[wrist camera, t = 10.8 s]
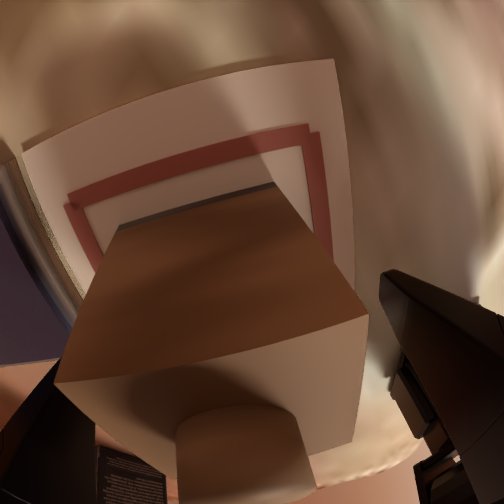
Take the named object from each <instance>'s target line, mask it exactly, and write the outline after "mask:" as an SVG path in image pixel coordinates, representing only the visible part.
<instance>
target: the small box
mask: <svg viewBox="0 0 504 504" xmlns="http://www.w3.org/2000/svg"><path fill="white" fill-rule="evenodd" d="M95 469H96V490H97V504H167V487H166V475H165V474H163V473H161V472H160V471H158V470H157V469H155V468H154V467H152V466H151V465H149V464H148V463H146V462H145V461H143V460H142V459H139V458H136V457H133V456H129V455H126V454H123V453H120V452H116V451H114V450H111V449H108V448H105V447H102V446H97V447H95Z"/></svg>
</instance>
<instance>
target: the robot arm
mask: <svg viewBox="0 0 504 504" xmlns="http://www.w3.org/2000/svg"><path fill="white" fill-rule="evenodd" d="M379 299H380V303H381V305H382V307H383V309H384V311H385V313H386V315H387V317H388V320H389V322H390V324H391V326H392V328H393V331H394V333H395V335H396V337H397V339H398V341H399V343H400V345H401V347H402V352H401V356H400V360H399V364H398V368H397V372H396V375H395V379H394V383H393V386H392V389H391V393H390V396H391V397H392V399H393V400H395V401H396V403H397V404H398V406H399V408H400V410H401V412H402V414H403V416H404V418H405V420H406V422H407V424H408V426H409V428H410V430H411V431H412V433H413V435H414V437H415V438H417V439H420V438H422V437H423V438H424V440H425V442H426V444H427V446H428V448H429V449H430V452H431V454H432V456H430V457H428V458H427V459H426V460H423V461H420V462H419V463H417V464H416V465H414V466H413V469H414V474H415V480H416V485H417V490H418V495H419V501H420V504H504V316H501V315H499V314H497V315H496V313H495V312H493V311H490V310H488V309H486V308H484V307H482V306H481V305H480V304H479V305H477V304H475V303H473V302H471V301H468V300H466V299H464V298H462V297H459V296H457V295H455V294H452V293H450V292H448V291H446V290H443V289H441V288H439V287H436V286H434V285H432V284H429V283H427V282H425V281H422V280H420V279H418V278H415V277H413V276H410V275H408V274H406V273H403V272H401V271H398V270H396V269H391V270H388V271H385V272H383V273H382V274H381V276H380V287H379ZM61 359H62V357H61V358H60V359H59V360H58V361H57V362H56V364H55V365H54V366H53V367H52V368H51V369H50V371H49V372H48V373H47V374H46V375H45V376H44V378H43V379H42V380H41V381H40V382H39V384H38V385H37V386H36V387H35V388H34V390H33V391H32V392H31V393H30V395H29V396H28V397H27V398H26V399H25V401H24V402H23V403H22V404H21V406H20V407H19V408H18V410H17V411H16V412H15V413H14V415H13V416H12V417H11V418H10V420H9V421H8V422H7V424H6V425H5V426H4V429H2V430H1V432H0V504H97V490H96V469H95V422H93V421H92V420H91V419H90V418H89V417H88V416H87V415H86V414H84V413H83V412H82V411H81V410H80V409H79V408H78V407H77V406H76V405H75V404H74V403H73V402H72V401H70V400H69V399H68V398H67V397H66V396H65V395H64V394H63V393H62V392H61V391H60V390H59V389H58V388H57V387H56V386H55V384H54V380H55V377H56V374H57V371H58V368H59V365H60V361H61ZM457 455H459V456H460V459H461V460H460V461H458V462H457V463H456V462H455V461H454V460H453V458H455V457H456V456H457Z"/></svg>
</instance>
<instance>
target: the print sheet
mask: <svg viewBox="0 0 504 504" xmlns="http://www.w3.org/2000/svg"><path fill="white" fill-rule="evenodd" d="M21 156H22V159H23V162H24V165H25V167H26V170H27V173H28V176H29V178H30V181H31V183H32V186H33V188H34V191H35V193H36V196H37V198H38V201H39V203H40V205H41V208H42V210H43V212H44V215H45V217H46V219H47V221H48V223H49V225H50V228H51V230H52V232H53V234H54V236H55V238H56V240H57V242H58V244H59V246H60V248H61V250H62V252H63V254H64V256H65V258H66V260H67V262H68V263H69V265H70V267H71V269H72V271H73V273H74V274H75V276H76V278H77V280H78V282H79V283H80V285H81V287H82V288H83V290H84V292H85V294H86V293H87V291H88V289H89V286H90V284H91V282H92V280H93V277H94V275H95V273H96V271H97V269H98V266H99V264H100V262H101V260H102V258H103V256H104V254H105V252H106V250H107V248H108V246H109V244H110V242H111V240H112V238H113V236H114V234H115V232H116V230H117V228H118V226H119V225H121V224H124V223H127V222H130V221H133V220H136V219H140V218H143V217H146V216H149V215H153V214H156V213H159V212H162V211H166V210H169V209H172V208H176V207H179V206H183V205H186V204H190V203H193V202H197V201H200V200H204V199H208V198H211V197H215V196H219V195H222V194H226V193H230V192H234V191H238V190H242V189H246V188H250V187H254V186H258V185H262V184H266V183H270V182H275V183H276V185H277V186H278V187H279V189H280V190H281V191H282V193H283V194H284V195H285V196H286V198H287V199H288V200H289V202H290V203H291V204H292V206H293V207H294V208H295V210H296V211H297V212H298V213H299V215H300V216H301V217H302V219H303V220H304V222H305V223H306V224H307V226H308V227H309V228H310V230H311V231H312V232H313V234H314V235H315V236H316V238H317V239H318V241H319V242H320V243H321V245H322V246H323V247H324V249H325V250H326V252H327V253H328V254H329V256H330V257H331V259H332V260H333V261H334V263H335V264H336V266H337V267H338V268H339V270H340V271H341V273H342V274H343V276H344V277H345V279H346V280H347V281H348V283H349V284H350V286H351V287H352V289H353V290H354V292H355V249H354V223H353V205H352V191H351V179H350V168H349V158H348V148H347V140H346V132H345V124H344V117H343V110H342V103H341V96H340V90H339V84H338V79H337V73H336V68H335V62H334V59H323V60H312V61H303V62H294V63H287V64H279V65H273V66H266V67H260V68H255V69H249V70H244V71H239V72H234V73H229V74H225V75H220V76H216V77H212V78H208V79H204V80H200V81H196V82H192V83H189V84H185V85H182V86H178V87H175V88H171V89H168V90H165V91H162V92H159V93H156V94H153V95H150V96H147V97H144V98H141V99H138V100H135V101H132V102H130V103H127V104H124V105H122V106H119V107H117V108H114V109H112V110H109V111H107V112H104V113H102V114H99V115H97V116H95V117H92V118H90V119H88V120H86V121H83V122H81V123H79V124H77V125H75V126H73V127H71V128H68V129H66V130H64V131H62V132H60V133H58V134H56V135H54V136H52V137H50V138H49V139H47V140H45V141H43V142H41V143H39V144H37V145H36V146H34V147H32V148H30V149H28V150H27V151H25V152H23V153H22V154H21Z"/></svg>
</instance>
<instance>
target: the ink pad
mask: <svg viewBox="0 0 504 504" xmlns="http://www.w3.org/2000/svg"><path fill="white" fill-rule="evenodd" d="M82 303H83V300H82V298H81V296H80V295H79V293H78V291H77V290H76V288H75V286H74V285H73V283H72V281H71V279H70V278H69V276H68V274H67V272H66V271H65V269H64V267H63V265H62V263H61V261H60V260H59V258H58V256H57V254H56V252H55V250H54V248H53V246H52V244H51V242H50V240H49V238H48V236H47V234H46V232H45V230H44V228H43V226H42V223H41V221H40V219H39V217H38V215H37V212H36V210H35V208H34V205H33V203H32V201H31V198H30V196H29V194H28V191H27V189H26V186H25V183H24V181H23V178H22V176H21V173H20V170H19V167H18V165H17V162H16V159H15V158H14V159H12V160H10V161H8V162H6V163H4V164H2V165H0V367H6V366H15V365H24V364H32V363H40V362H48V361H55V360H59V359H60V358H61V357H62V356H63V353H64V350H65V347H66V344H67V341H68V339H69V336H70V333H71V331H72V328H73V325H74V323H75V320H76V318H77V315H78V313H79V310H80V308H81V305H82Z"/></svg>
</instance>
